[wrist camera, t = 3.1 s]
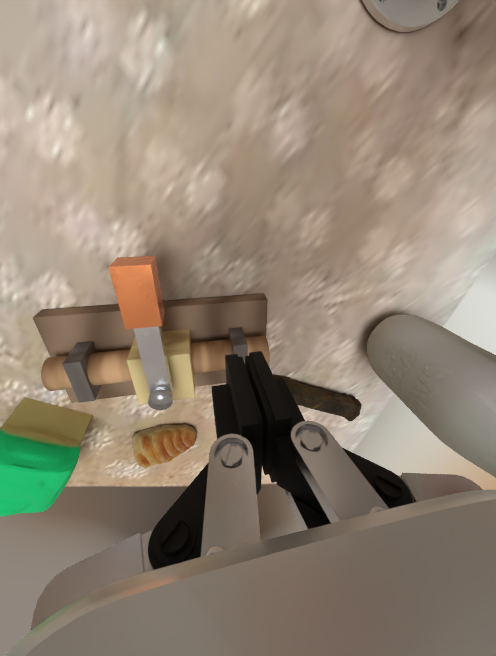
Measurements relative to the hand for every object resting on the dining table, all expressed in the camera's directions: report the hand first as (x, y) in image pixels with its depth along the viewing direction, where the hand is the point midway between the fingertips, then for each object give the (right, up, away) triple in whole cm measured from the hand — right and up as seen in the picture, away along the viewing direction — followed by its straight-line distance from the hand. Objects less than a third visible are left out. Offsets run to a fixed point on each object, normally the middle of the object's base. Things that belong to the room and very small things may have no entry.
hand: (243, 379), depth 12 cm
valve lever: (-9, +2, +12) cm, 15 cm away
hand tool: (+9, -8, +31) cm, 33 cm away
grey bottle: (+21, +2, +28) cm, 35 cm away
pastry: (-14, -15, +30) cm, 36 cm away
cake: (-28, -12, +24) cm, 39 cm away
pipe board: (-10, 0, +21) cm, 24 cm away
